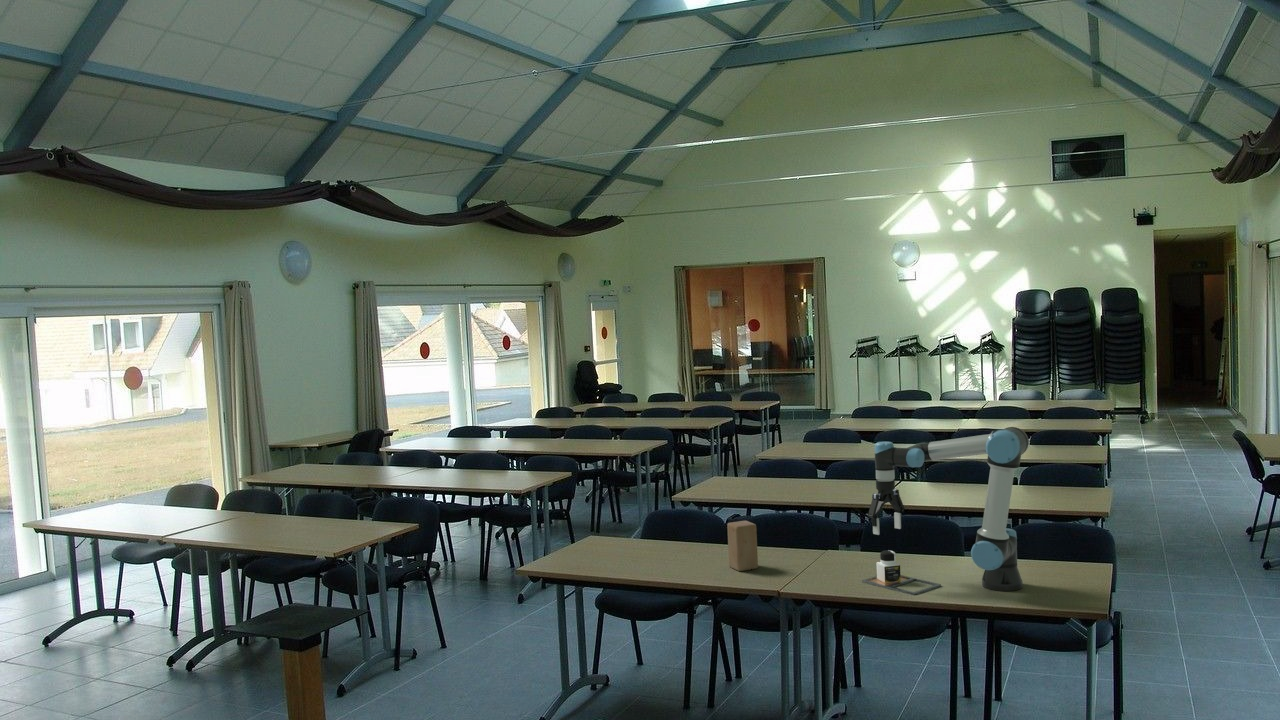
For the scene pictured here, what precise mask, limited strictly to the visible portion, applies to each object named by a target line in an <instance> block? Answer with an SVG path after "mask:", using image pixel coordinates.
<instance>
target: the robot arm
mask: <svg viewBox="0 0 1280 720" xmlns="http://www.w3.org/2000/svg"><path fill="white" fill-rule="evenodd" d="M1029 441H1030V440H1029V437H1028V435H1027V433H1026V432H1025V431H1024V430H1023V429H1021V428H1019V427H1015V426H1009V427H1005V428H1002V429H998V430H992V431H991V432H990V433H989V434H980V435H974V436H972V435H971V436H967V437H966V436H965V437H960V438H952V439H944V440H936V441H929V442H917V443H915V444H913V445H910V446H908V447H896V446H895V445H894V443H893V442H891V441H877V442H876V443H875V444H874V462H875V463H874V464H875V466H874V467H875V468H874V469H875V479H876V481H875V489H876V490H877V493H872V497H871V503H870V507H869V510H868V514H867V517H868V518H871V526H872V534H873V535H877V536H879V535H880V518H879V515H880V513H881V511H882V509H883V506H885V505H886V504H887V503H889V504H890V506H891V507H892V508H893V510H894V511H895V512H894V513H893V519H894V520H893V521H894V522H893V523H894V529H898V530H901V529H902V514H903V513H904V511H905V506H904V503H903V501H902V498H901V496H900V490H899V489H896V481H895V479H896V478H895V477H896V475H895V473H896V472H895V467H903V468H905V467H906V468H921V467H922V466H923V464H924V462H931V461H937V460H946V459H947V460H949V459H955V458H956V459H957V458H963V457H972V456H981V455H987V458H986V459H987V460H986V463H987V464H988V466H989V467H990V469H989V476H988V484H987V491H986V498H985V504H984V512H983V517H982V526H981V527H980V528H979V529H977V531H976V536H975V537H976V538H975V543H974V544H973V545H972V547H971V550H970V556H971V557H970V558H971V559H972V562H973V563H974V564H975V565H976V566H977V567H978V568H980V569H982V570H983V571H984V572H983V574H982V578H981V585H982V587H984V588H985V589H988V590H991V591H992V590H993V591H1000V592H1013V591H1018V590H1021V589H1022V588H1023V586H1024V584H1023V579H1022V576H1021V574H1020V570H1019V567H1018V549H1017V548H1018V541H1017V540H1018V537H1017V531H1016V530H1015V529H1012V528H1007V525H1008V518H1009V509H1010V503H1011V497H1012V490H1013V484H1014V477H1015V476H1014V475H1015V472H1016V471H1017V470H1018V469H1020V465H1021V458H1022V455H1024V453H1026V452H1027V450H1028V449H1029V443H1030V442H1029Z"/></svg>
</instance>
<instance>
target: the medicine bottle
mask: <svg viewBox="0 0 1280 720" xmlns="http://www.w3.org/2000/svg"><path fill="white" fill-rule="evenodd" d="M879 554H880V555H879V557H880V558H879V559H880V561H877V562H876V563H875V564H876V576H877V579H878V580H880V581H882V582H884V583H892V582H900V581H901V576H900V575H901V564H900V563H898V562H897V560H896V556H897V555H896V552H895V551H893V550H889V549H888V550H882V551H880V553H879Z"/></svg>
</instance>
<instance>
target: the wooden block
mask: <svg viewBox="0 0 1280 720" xmlns="http://www.w3.org/2000/svg"><path fill="white" fill-rule="evenodd" d="M757 531H758V530H757V525H756V523H753V522H751V521H749V520H739V521H733V522H728V523H727V548H728V550H727V551H728V553H727V554H728V567H729V568H731V569H734V570H735V571H738V572H743V571H751V569H752V570H756V569H758V568H759V561H758V559H759V558H758V557H759V556H758V535H757Z"/></svg>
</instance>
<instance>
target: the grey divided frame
mask: <svg viewBox="0 0 1280 720" xmlns="http://www.w3.org/2000/svg"><path fill="white" fill-rule="evenodd" d="M900 576H901V581H900V582H892V583H884V582H882V581H880V580H878V579H877V575H875V576H871V577H869V578H866V579H865V578H864V579H862V580H861V582H862V583H863V584H868V585H872V586H877V587H880V588H884V589H887V590H893V591H896V592H901V593H904V594H909V595H911V596H916V595H919V594H921V593H925V592H928V591H931V590H934V589H937V588H940V587H942V584H941V583H937V582H933V581H930V580H929V581H928V580H924V579H921V578H915V577H912V576H908V575H907V576H906V575H904V574H903V575H902V574H900ZM912 582H917V583H922V584H926V585H931V586H928V587H925V588H922V589H920V590H915V591H911V590H906V589H904V588H903V589H902V588H899V586H902V585H906V584H909V583H912Z"/></svg>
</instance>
